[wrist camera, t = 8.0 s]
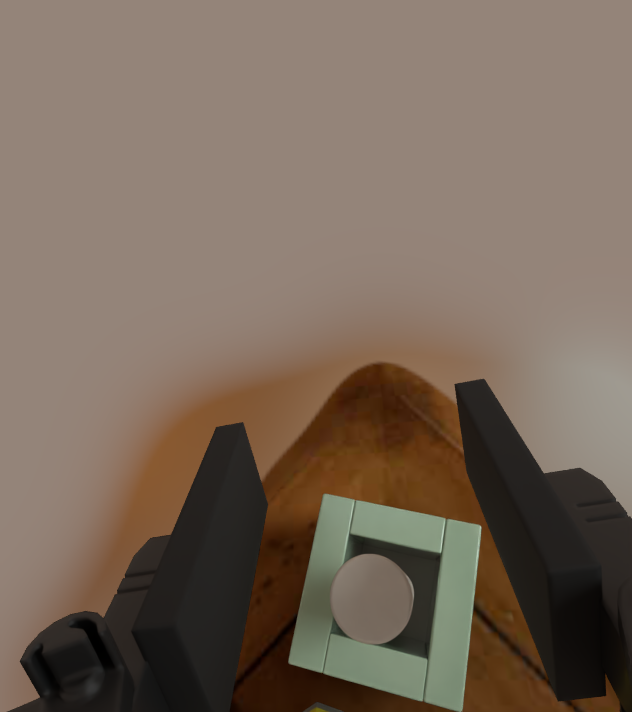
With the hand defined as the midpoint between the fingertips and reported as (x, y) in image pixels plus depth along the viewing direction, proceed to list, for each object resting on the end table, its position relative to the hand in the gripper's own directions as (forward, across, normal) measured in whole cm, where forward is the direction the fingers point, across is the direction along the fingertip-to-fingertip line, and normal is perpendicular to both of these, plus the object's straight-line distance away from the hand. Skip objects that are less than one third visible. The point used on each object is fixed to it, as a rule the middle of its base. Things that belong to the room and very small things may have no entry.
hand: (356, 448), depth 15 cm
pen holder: (+6, 0, -11) cm, 12 cm away
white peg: (+6, 0, -11) cm, 12 cm away
